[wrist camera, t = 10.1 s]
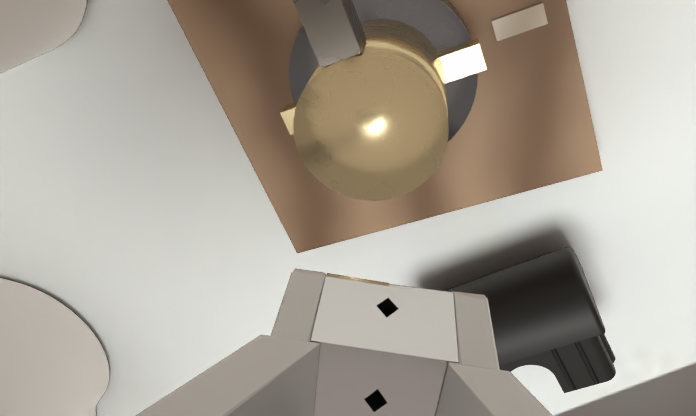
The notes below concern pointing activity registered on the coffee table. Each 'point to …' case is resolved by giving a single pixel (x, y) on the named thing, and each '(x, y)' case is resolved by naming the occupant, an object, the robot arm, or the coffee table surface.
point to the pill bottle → (35, 28)
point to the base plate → (462, 150)
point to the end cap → (547, 319)
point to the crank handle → (373, 101)
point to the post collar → (419, 12)
